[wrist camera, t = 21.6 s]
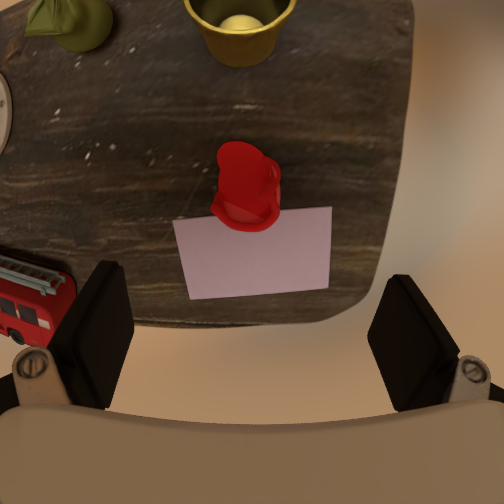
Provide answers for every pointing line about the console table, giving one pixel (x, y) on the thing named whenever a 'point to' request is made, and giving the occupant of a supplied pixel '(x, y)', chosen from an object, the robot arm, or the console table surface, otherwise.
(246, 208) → the cap
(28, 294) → the toy
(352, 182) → the console table surface
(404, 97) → the console table surface
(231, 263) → the cloth
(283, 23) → the vase
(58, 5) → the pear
